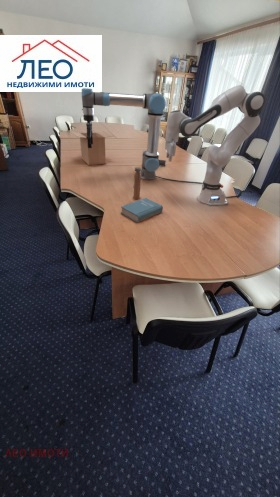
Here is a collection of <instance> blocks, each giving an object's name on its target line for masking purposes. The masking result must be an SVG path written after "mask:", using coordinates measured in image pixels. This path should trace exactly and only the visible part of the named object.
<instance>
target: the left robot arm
mask: <svg viewBox="0 0 280 497" xmlns="http://www.w3.org/2000/svg"><path fill="white" fill-rule="evenodd" d="M81 105H82V108H81V111H82V113H83V115H82V118H83V122H86V123H85V126H86V131H87V137H86V139H87V140H88V148H92V144H93V136H92V135H93V132H92V130H93V123H92V122H94V121H95V115H94V113H95V111H94V106H100V107H101V106H102V107H110V106H121V107H122V106H123V107H137V108H142V109H143V110H147V116H148V117H149V118H148V119H149V120H148V131H147V132H148V134H147V147H146V148H147V149H146V150H143V151H142V159H141V160H142V161H141V171H140V173H141V180H146V181H154V180H156V178H158V179H161V180H166V181H171V182H177V183H179V182H180V183H189V184H201V185H202V184H203V182H199V181H188V180H187V181H186V180H178V179H171V178H166V177H162V176H157V174H156V171H158V169H159V167H160V165H159V161H158V160H160V159H159V158H160V153H159V152H158V149H159V141H160V130H161V121H162V118H163V117H164V111H165V109H166V99H165V97H164V95H163V94H161V93H159V92H152V93H143V94H132V93H131V94H130V93H120V92H119V93H118V92H117V93H116V92H104V91H100V92H94V91H93V89H92V88H88V87H87V88H86V87H82V88H81Z"/></svg>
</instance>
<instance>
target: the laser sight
mask: <svg viewBox="0 0 280 497" xmlns="http://www.w3.org/2000/svg"><path fill="white" fill-rule="evenodd" d="M158 161H159V166H161V167H166V163H167V160H166V159H165V160H164V159H159V160H158Z"/></svg>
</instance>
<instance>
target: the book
mask: <svg viewBox="0 0 280 497" xmlns="http://www.w3.org/2000/svg"><path fill="white" fill-rule="evenodd" d="M163 209H164V206H163V204H160V203H158V202H157V201H154V200H152V199H149V198H147V197H144V198H141V199H138V200H136V201H133V202H130V203H127V204H124V205H122V206H121V212H120V214H121V215H122V216H125V217H127V218H128V219H130V220H131V221H133V222H135V223H140V222H142V221H144V220H147V219H149V218H151V217H153V216H156V215H159V214H161V213H163Z"/></svg>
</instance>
